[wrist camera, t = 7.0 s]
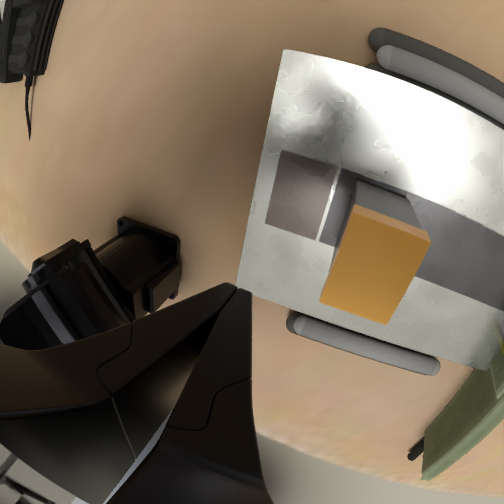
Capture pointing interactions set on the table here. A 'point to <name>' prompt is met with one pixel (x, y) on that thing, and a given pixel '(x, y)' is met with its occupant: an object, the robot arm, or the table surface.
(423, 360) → the grey rounded rod
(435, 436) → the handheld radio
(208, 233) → the table surface
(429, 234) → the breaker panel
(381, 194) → the lever
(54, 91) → the table surface
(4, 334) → the robot arm
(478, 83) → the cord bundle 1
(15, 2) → the electronic device
